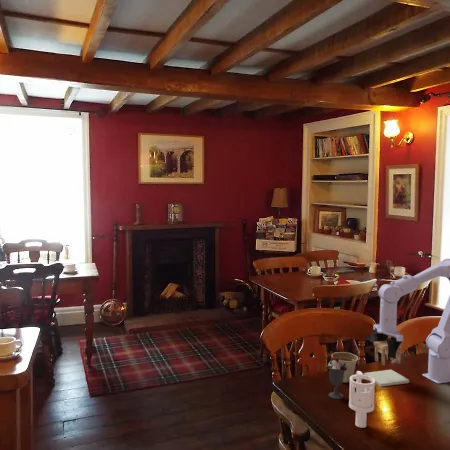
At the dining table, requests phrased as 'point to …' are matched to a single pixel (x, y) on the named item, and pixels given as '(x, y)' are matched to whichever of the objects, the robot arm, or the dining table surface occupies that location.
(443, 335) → the robot arm
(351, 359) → the flower pot
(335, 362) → the sundae
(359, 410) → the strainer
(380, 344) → the stool
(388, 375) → the board
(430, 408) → the dining table surface
